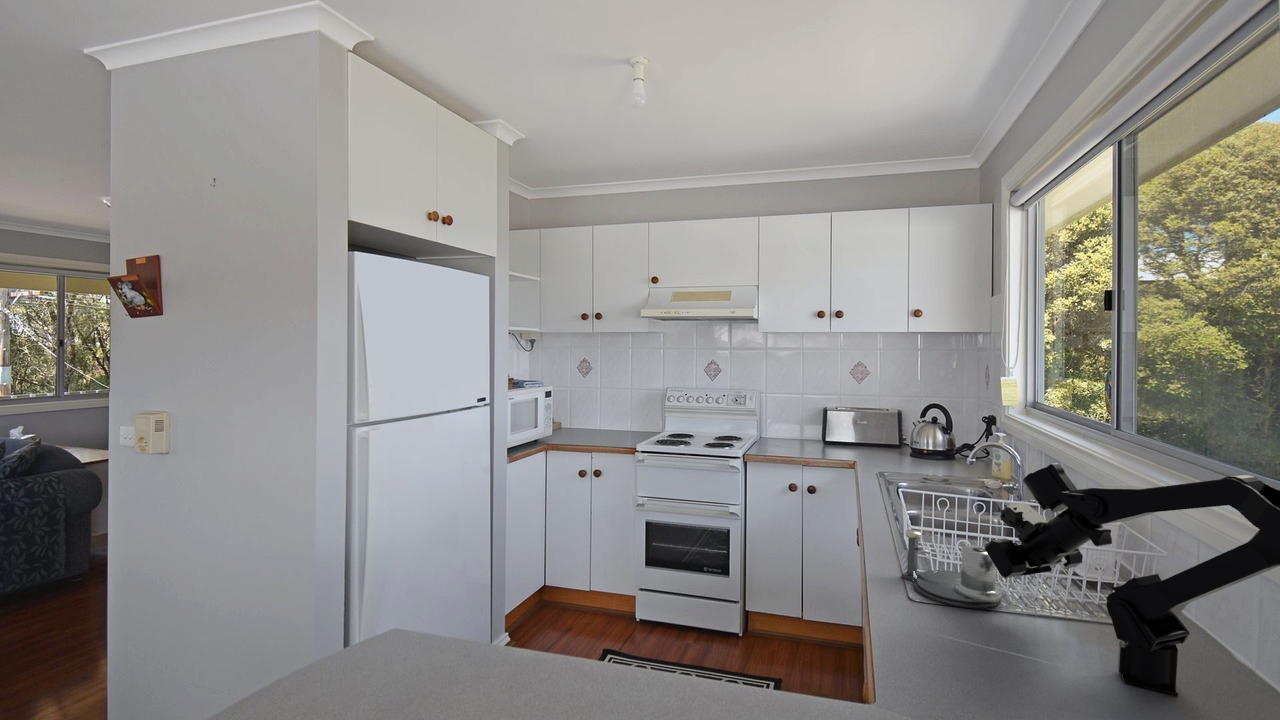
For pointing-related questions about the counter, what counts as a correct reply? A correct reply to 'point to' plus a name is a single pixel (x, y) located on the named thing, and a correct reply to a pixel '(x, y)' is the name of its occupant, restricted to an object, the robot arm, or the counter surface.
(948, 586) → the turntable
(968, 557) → the cover
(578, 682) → the counter surface
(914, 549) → the stand
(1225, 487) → the robot arm
